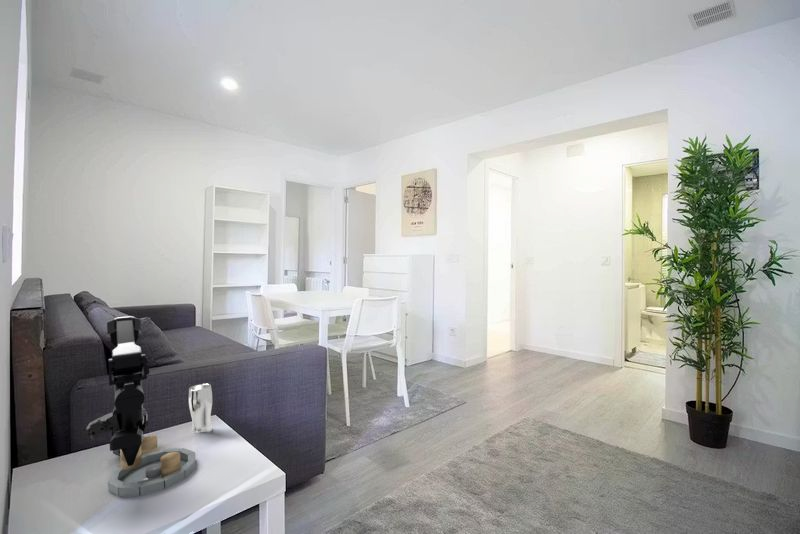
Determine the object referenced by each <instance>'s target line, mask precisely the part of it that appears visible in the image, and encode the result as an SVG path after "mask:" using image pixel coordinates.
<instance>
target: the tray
mask: <svg viewBox="0 0 800 534" xmlns="http://www.w3.org/2000/svg"><path fill="white" fill-rule="evenodd" d="M171 452H179V453H180V461H181V468H180V469H179V470H178V471H176V472H174V473H172V474H169V475H167V476H165V477H163V478H161V457H162V456H163V455H165V454H167V453H171ZM196 459H197V458H196V452H195V451H193V450H191V449H189V448H184V447H177V448H176V447H175V448H164V449H159V450H158V451H155V452H150V453H146V454H144V455H142V463H141V465H139V466H138V467H136V468H133V469H129V470H122V469H121V465H120V466H118V467H117V468H115V469H114V470H113V471H111V473H110V476H109V478H108V481H107V487H108V488H107V489H108V492H109V493H111V494H113V495H115V496H116V497H139V496H145V495H148V494H152V493H155V492H160V491H162V490H163V491H164V490H166V489H168V488H170V487H173V485H176V484H178V483H179V482H181V481H183V480H185V479H186V478H188V476H189V475H191V474H192V473H193V471H194V470H195V469H196V468H197V461H196Z"/></svg>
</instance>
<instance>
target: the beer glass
mask: <svg viewBox="0 0 800 534" xmlns="http://www.w3.org/2000/svg"><path fill="white" fill-rule="evenodd" d="M188 407H189V412H190V413H189V414H190V416H191V420H192V421H191V422H192V428H191V433H195V434H196V433H204V432H206V433H208V434H209V433H210V432H212V431H213V426H212V422H211V415H212V414H211V413H212V407H213V391H212V385H211V384H210V383H202V384H195V385H192V386H190V387H189V388H188Z"/></svg>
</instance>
